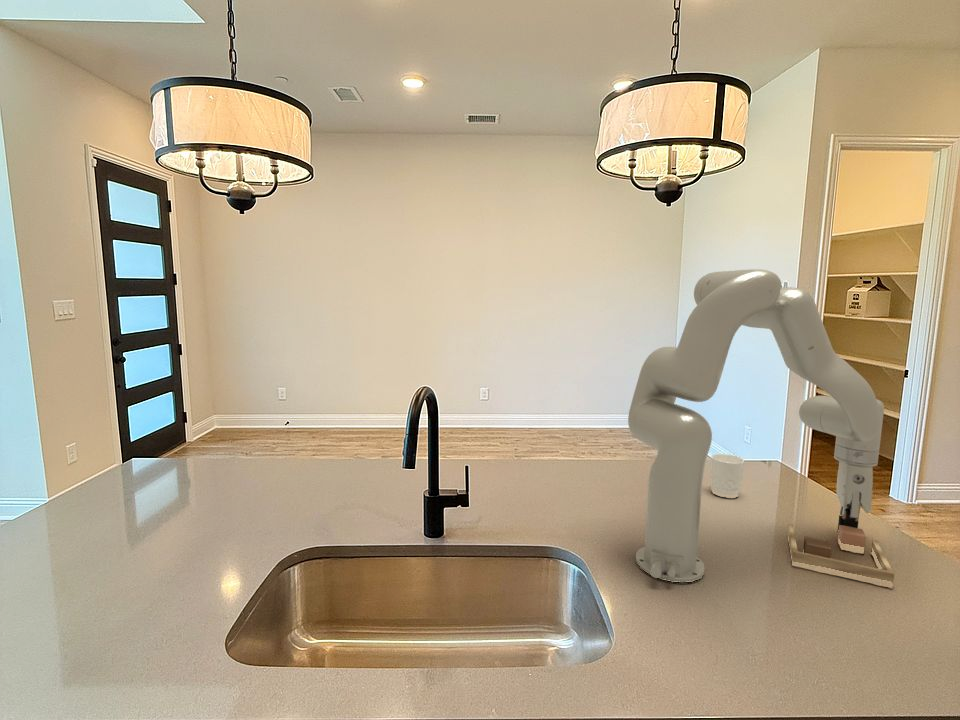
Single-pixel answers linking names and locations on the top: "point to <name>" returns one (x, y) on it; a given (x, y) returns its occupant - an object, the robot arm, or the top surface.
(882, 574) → the tan u-shaped piece
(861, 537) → the terracotta block
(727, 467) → the white cup
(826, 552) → the walnut block
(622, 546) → the top surface
